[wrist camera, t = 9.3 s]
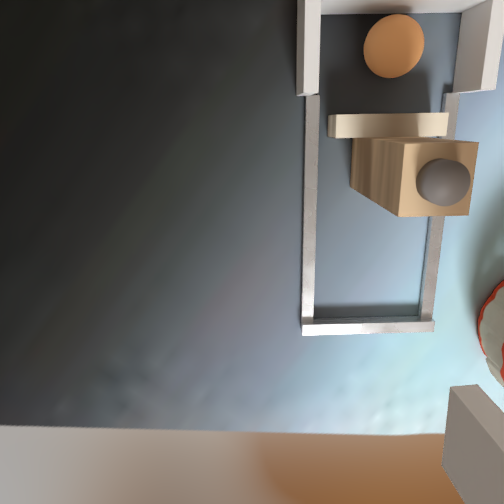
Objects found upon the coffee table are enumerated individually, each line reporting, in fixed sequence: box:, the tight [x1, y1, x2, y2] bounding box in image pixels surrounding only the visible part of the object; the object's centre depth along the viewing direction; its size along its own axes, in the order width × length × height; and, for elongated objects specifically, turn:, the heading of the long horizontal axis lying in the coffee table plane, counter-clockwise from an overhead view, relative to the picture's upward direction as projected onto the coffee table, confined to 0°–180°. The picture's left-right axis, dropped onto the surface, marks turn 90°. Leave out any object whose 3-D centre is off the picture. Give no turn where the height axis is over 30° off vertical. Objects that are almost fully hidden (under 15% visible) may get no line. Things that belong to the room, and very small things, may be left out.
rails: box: [301, 93, 460, 335], centre depth 34 cm, size 12×20×1 cm, turn 1°
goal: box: [296, 0, 504, 96], centre depth 29 cm, size 13×6×4 cm, turn 91°
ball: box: [364, 14, 424, 78], centre depth 29 cm, size 4×4×4 cm
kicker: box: [327, 113, 479, 217], centre depth 27 cm, size 8×6×12 cm
